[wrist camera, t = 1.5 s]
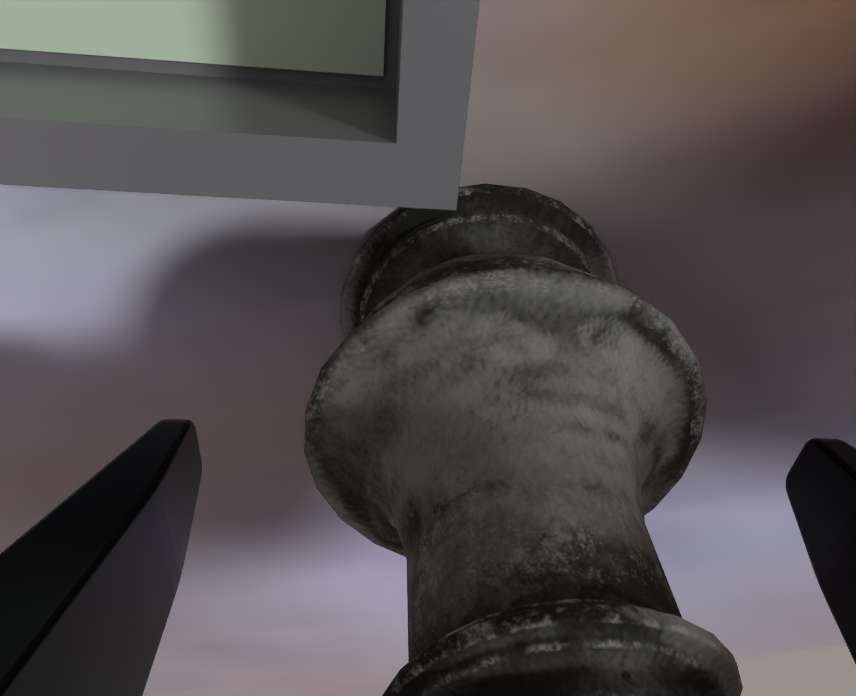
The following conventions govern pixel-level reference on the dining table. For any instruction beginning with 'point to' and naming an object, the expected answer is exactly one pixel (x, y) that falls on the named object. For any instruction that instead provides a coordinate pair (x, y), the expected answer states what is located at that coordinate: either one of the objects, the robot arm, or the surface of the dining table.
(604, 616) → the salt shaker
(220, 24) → the socket strip
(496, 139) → the dining table surface
